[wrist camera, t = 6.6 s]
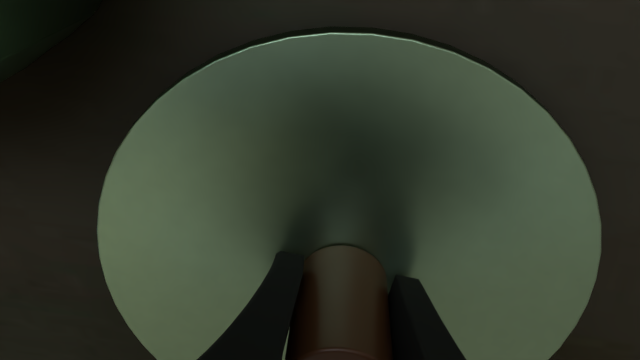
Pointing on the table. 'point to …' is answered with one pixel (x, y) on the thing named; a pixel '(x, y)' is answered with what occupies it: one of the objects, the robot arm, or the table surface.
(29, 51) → the pot
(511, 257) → the lid
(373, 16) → the table surface
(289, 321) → the robot arm
